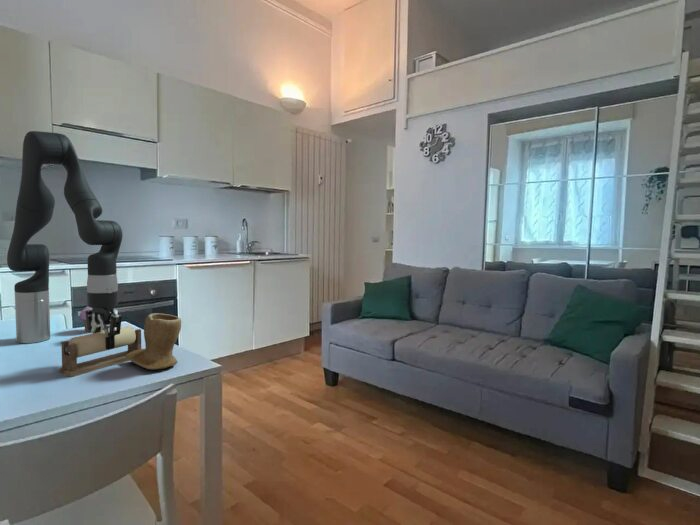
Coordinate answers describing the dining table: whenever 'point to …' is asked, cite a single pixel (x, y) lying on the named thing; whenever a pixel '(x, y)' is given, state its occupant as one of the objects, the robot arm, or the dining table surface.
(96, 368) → the roll stand
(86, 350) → the cylinder
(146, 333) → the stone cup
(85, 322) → the cupcake
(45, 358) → the dining table surface
